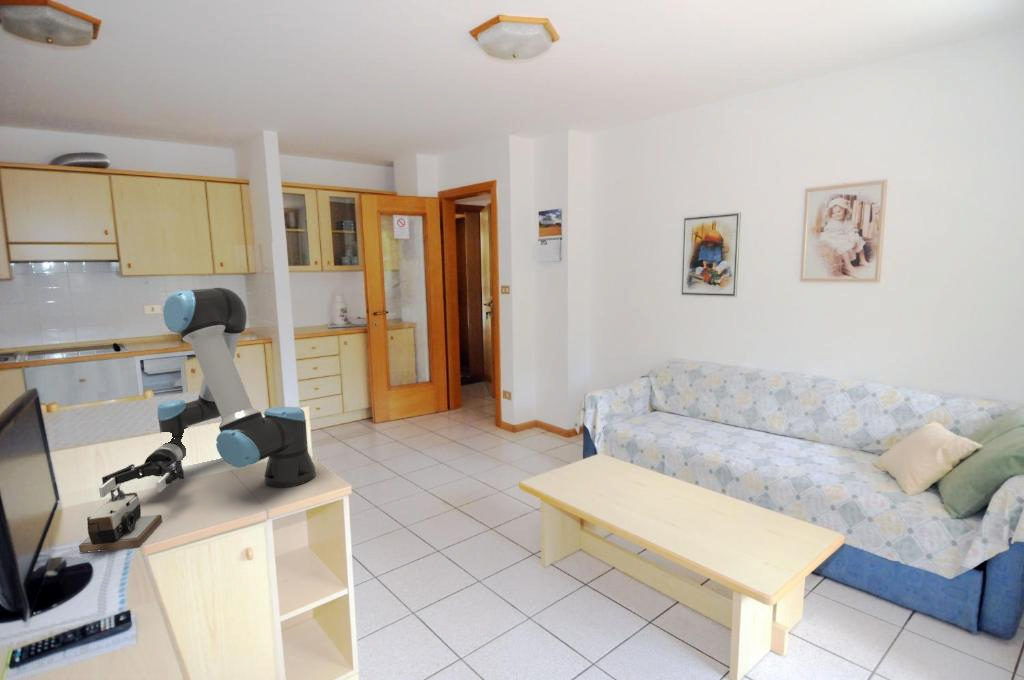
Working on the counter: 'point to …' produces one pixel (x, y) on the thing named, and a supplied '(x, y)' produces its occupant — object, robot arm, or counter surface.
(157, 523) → the walnut stand
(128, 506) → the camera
